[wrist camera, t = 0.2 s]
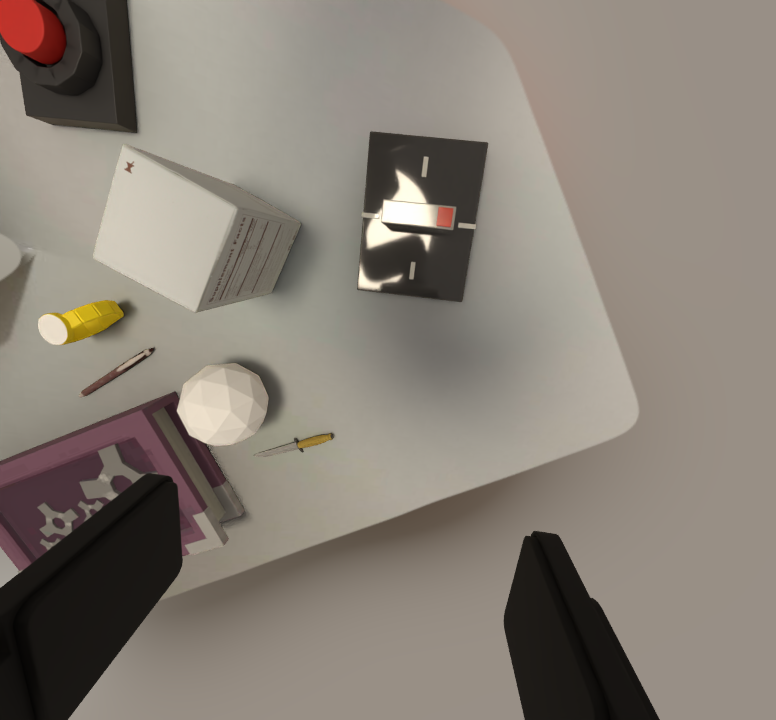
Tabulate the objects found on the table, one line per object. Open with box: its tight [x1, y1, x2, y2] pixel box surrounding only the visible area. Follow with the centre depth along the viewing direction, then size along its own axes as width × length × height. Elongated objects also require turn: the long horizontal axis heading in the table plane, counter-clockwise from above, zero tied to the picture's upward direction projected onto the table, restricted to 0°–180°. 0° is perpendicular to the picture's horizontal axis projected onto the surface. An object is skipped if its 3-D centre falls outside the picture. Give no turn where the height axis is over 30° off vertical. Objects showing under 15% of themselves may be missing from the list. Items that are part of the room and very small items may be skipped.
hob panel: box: [357, 132, 488, 302], centre depth 30 cm, size 12×9×3 cm
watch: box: [38, 300, 124, 345], centre depth 34 cm, size 6×3×6 cm, turn 120°
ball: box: [177, 363, 269, 446], centre depth 34 cm, size 8×8×8 cm
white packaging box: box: [93, 144, 301, 313], centre depth 27 cm, size 7×7×13 cm
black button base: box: [0, 0, 137, 133], centre depth 29 cm, size 10×8×4 cm
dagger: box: [254, 433, 333, 457], centre depth 39 cm, size 11×1×2 cm
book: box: [0, 392, 244, 573], centre depth 40 cm, size 25×16×5 cm, turn 112°
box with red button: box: [381, 199, 456, 234], centre depth 27 cm, size 5×2×5 cm, turn 84°
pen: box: [79, 348, 154, 397], centre depth 38 cm, size 11×1×1 cm, turn 120°
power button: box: [0, 0, 66, 64], centre depth 26 cm, size 4×4×2 cm
